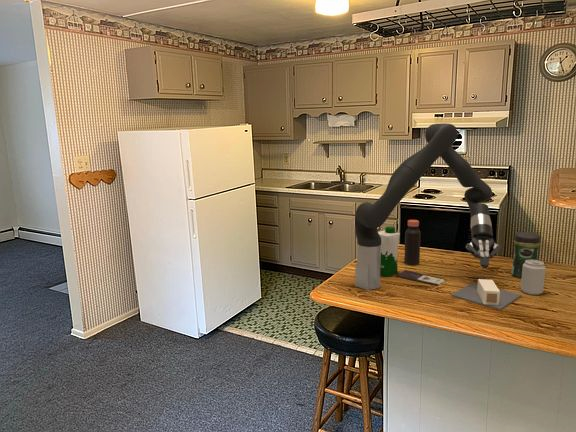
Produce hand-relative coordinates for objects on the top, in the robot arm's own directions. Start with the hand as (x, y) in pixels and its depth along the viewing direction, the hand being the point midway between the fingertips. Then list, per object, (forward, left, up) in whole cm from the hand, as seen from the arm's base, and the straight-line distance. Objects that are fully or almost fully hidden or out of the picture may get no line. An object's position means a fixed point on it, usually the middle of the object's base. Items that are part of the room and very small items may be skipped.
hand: (485, 267), depth 164 cm
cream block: (-1, -1, -7) cm, 7 cm away
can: (+13, -12, -10) cm, 20 cm away
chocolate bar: (-3, +25, -10) cm, 27 cm away
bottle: (+12, +39, -10) cm, 41 cm away
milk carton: (-8, +39, -10) cm, 41 cm away
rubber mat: (-3, -2, -10) cm, 11 cm away
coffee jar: (+30, -3, -10) cm, 32 cm away
